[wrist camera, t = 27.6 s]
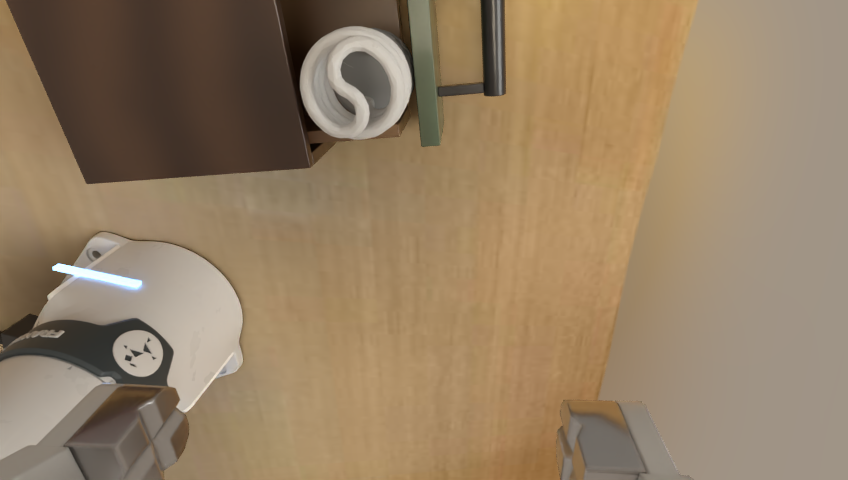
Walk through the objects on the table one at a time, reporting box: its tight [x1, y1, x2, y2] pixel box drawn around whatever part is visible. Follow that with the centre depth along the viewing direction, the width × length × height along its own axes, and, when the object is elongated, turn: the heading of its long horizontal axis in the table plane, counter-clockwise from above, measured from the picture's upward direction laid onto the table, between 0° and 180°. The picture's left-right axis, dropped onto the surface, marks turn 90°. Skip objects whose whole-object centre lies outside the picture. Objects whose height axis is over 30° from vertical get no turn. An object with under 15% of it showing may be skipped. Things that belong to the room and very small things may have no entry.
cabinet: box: [6, 0, 336, 184], centre depth 31 cm, size 16×13×9 cm
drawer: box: [280, 0, 506, 147], centre depth 30 cm, size 19×11×7 cm, turn 95°
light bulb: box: [300, 26, 415, 140], centre depth 27 cm, size 6×6×12 cm
